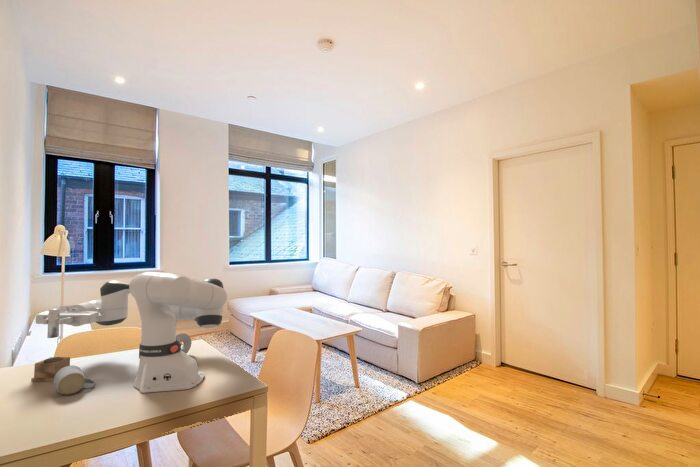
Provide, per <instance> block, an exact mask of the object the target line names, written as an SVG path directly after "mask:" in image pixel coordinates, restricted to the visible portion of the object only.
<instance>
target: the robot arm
mask: <svg viewBox="0 0 700 467" xmlns="http://www.w3.org/2000/svg"><path fill="white" fill-rule="evenodd" d="M224 288H225V287H224V284H223V282H222V281H221V280H220V279H218V278H213V277H211V278H206V279H203V280H198V279H194V278H191V277H188V276H186V275H183V274H178V273H175V272H174V273H172V272H161V271H160V272H158V271H145V272H142V273H138V274H136V275H135V276H133V278H132V279H131V280H130V282H125V281H122V280H110V281H109V280H108V281H106V282H105V283H104V284H103V285H102V286H101V287H100V289H99V292H100V299H93V300H89V301H85V302H80V303H75V304H71V305H70V304H69V305H64V306H63V305H62V306H56V307H55V308H54V309H60V319H58V320H57V321H56V322H57V323H56V324H59V325H67V326H73V327H80V326H83V325H90V324H93V323H96V324H97V325H99V326H105V327H106V326H107V327H108V326H115V325H118V324H121V323H122V322H124V321H125V320H126V319H127V318H128V314H129V312H128V311H129V310H128V309H129V306H128V304H129V294H130V295H131V296H132V297H133V299H134V301H135V302H136V305H137V309H138V312H139V316H140V322H141V324H140V327H141V328H140V333H141V335H140V343H139V348H138V359H139V364H138V369H137V373H136V374H137V375H136V378H135V380H134V384H133V387H134V388H135V389H136V390H139V392H140V393H143V394H144V393H156V392H167V391H168V392H169V391H170V392H171V391H182V390H189V389H192V388H195V387H196V386H197V384H198V385H199V384H200V383H201V382H202V381H203V380H204V379H203V378H205V372H203V371H199V367H198V362H197V360H196V359H195V358H193V357H191V356H190V355H188V354H187V353H184V352H183V351H181V348H182V346H183V341H181V342H180V343H179V342H178V341H177V340H176V336H177V326H178V321H188V320H189V321H190V320H194V322H196V324H197V325H198V326H199V327H200V328H204V329H213V328H216V327H218V326H220V325H221V324H222V321H223V311H224V310H223V309H224V306H225V305H226V303H227V300H228V293H227V291H226V290H225V289H224ZM49 310H50V309H48V310H46V311H42V312H40V313H36V315H35V324H37V325H48V311H49Z"/></svg>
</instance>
